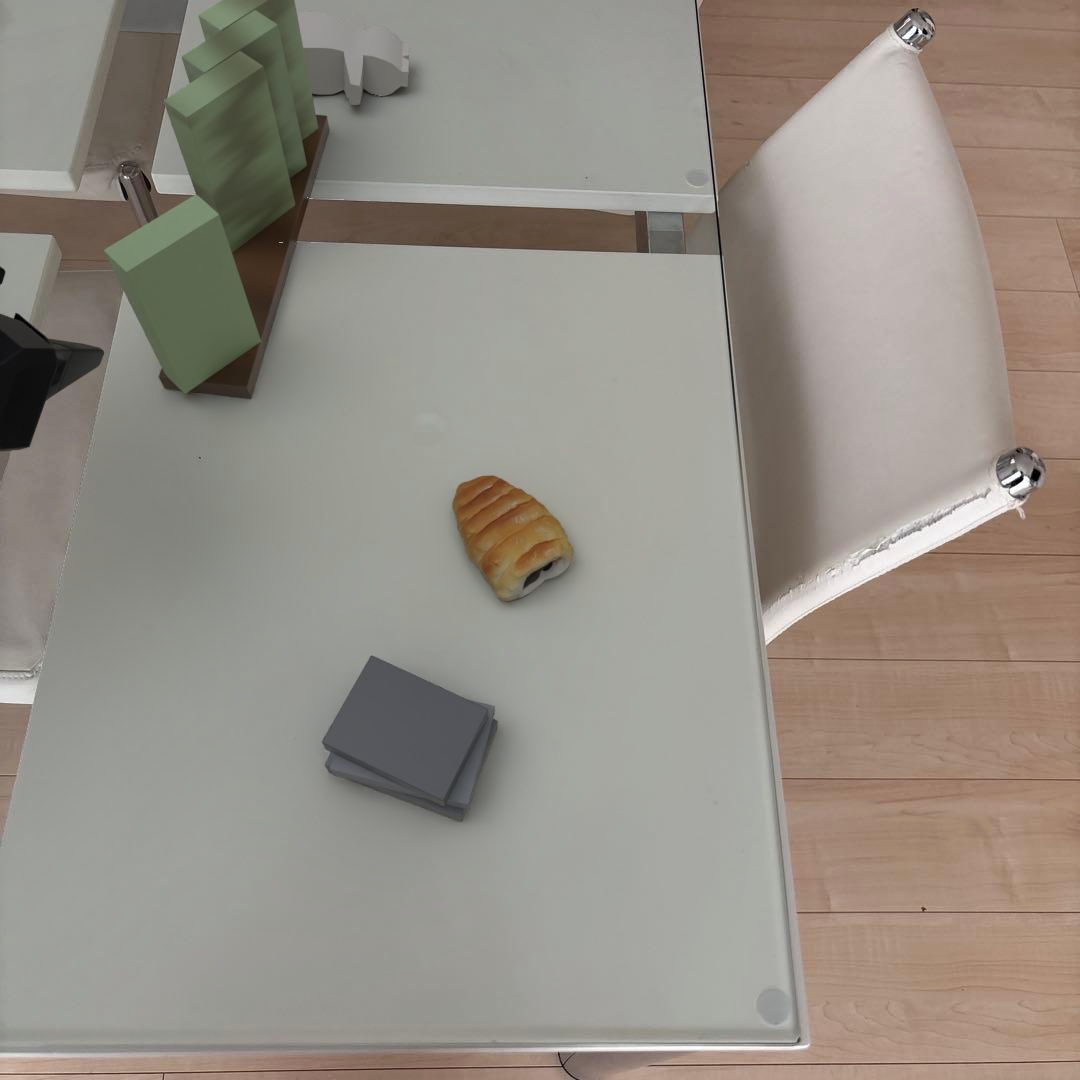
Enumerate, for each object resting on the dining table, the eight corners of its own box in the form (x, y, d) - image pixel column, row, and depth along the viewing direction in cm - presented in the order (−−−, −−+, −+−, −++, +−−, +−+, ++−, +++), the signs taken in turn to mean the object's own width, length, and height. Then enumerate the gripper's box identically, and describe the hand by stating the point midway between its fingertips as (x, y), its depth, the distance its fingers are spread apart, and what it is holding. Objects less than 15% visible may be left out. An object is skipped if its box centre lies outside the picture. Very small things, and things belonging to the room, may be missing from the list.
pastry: (429, 514, 69) (426, 488, 65) (505, 468, 71) (507, 440, 68) (505, 614, 66) (507, 592, 62) (583, 563, 68) (589, 538, 64)
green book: (185, 394, 70) (126, 271, 59) (165, 374, 71) (103, 249, 60) (261, 341, 73) (219, 214, 61) (241, 323, 74) (196, 193, 62)
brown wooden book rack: (251, 399, 72) (200, 265, 59) (164, 388, 72) (94, 252, 59) (329, 129, 85) (302, -30, 72) (255, 120, 85) (214, -40, 72)
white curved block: (408, 78, 83) (227, 56, 80) (405, 126, 87) (234, 107, 85) (410, 6, 87) (239, -17, 84) (408, 56, 92) (244, 35, 89)
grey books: (325, 776, 60) (312, 757, 56) (371, 676, 63) (363, 649, 59) (463, 829, 59) (462, 814, 55) (503, 724, 62) (505, 701, 58)
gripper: (-76, 247, 39) (203, 277, 53) (-329, 35, 44) (-11, 114, 58) (-138, 472, 43) (136, 444, 57) (-363, 257, 48) (-58, 280, 62)
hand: (50, 315), depth 58 cm, fingers open, 9 cm apart
